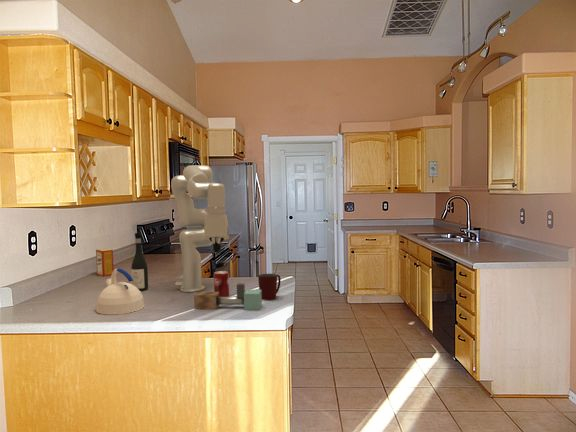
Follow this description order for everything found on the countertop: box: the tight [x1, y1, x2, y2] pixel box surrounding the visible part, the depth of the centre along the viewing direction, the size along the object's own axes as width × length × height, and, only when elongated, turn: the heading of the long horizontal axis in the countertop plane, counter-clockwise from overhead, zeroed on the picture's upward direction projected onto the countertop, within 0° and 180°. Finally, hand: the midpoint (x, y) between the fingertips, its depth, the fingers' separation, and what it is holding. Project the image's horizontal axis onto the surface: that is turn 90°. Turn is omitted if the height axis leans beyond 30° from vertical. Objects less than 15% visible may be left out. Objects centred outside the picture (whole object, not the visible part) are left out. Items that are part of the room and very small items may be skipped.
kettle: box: [95, 268, 145, 316], centre depth 201 cm, size 20×21×18 cm
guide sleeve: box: [194, 291, 220, 310], centre depth 200 cm, size 10×6×6 cm
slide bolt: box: [216, 282, 246, 306], centre depth 199 cm, size 22×3×9 cm, turn 85°
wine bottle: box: [130, 232, 149, 292], centre depth 236 cm, size 8×8×30 cm
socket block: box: [243, 289, 263, 311], centre depth 198 cm, size 6×8×7 cm
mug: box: [257, 273, 282, 301], centre depth 214 cm, size 12×9×11 cm
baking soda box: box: [95, 248, 115, 277], centre depth 280 cm, size 10×6×16 cm
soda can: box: [213, 270, 230, 297], centre depth 218 cm, size 7×7×12 cm
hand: (217, 252), depth 202 cm, fingers closed
